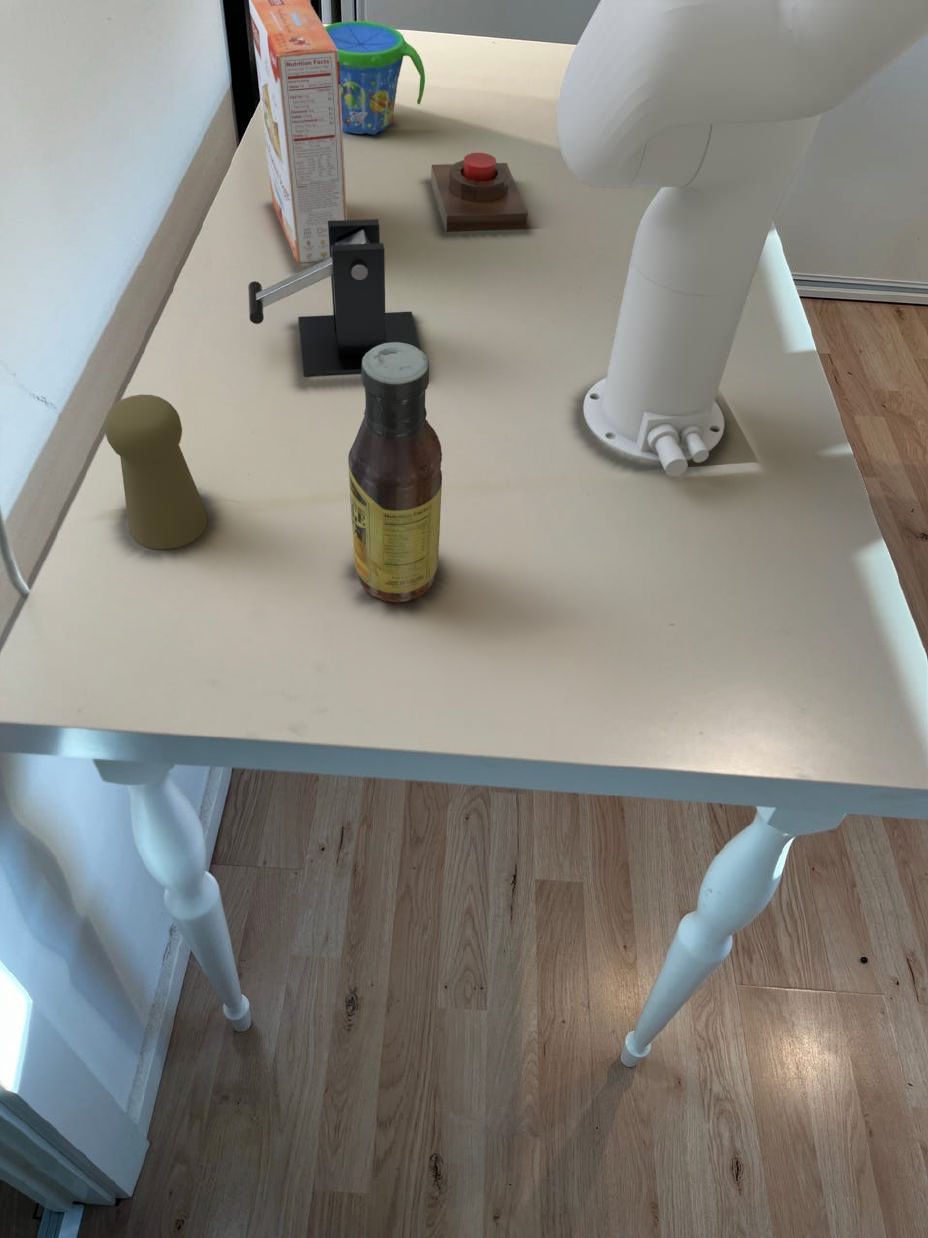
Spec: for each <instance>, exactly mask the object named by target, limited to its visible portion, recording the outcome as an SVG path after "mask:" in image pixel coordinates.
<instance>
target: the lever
mask: <svg viewBox="0 0 928 1238" xmlns="http://www.w3.org/2000/svg"><path fill="white" fill-rule="evenodd" d="M346 244H371V243H370V241H369V239H368V237H367V235H366V233H365V231H364V230H361V231H359V232H357V233H355V234H353V235H351V236H349V237H347V238H345V239H343V240H340V241H338V242H336V243H335V245H346ZM331 275H333V269H332V257H331V258H328V259H326V260H321V262H318V263H316V264H314V265H312V266H309V267H308V268H306V269H303V270H301V271H299V272H297V273H295V274H292V275H291V276H289V277H287V278H284V279H282V280H281V281H279V282H276V283H275V284H272V285H270V286H268V287H266V288H264V289H263V286H262V284H261V283H260V282H259V281H251V282H249V284H248V313H249V320H250V322H251V323H253V324H255V325H260V324H262V323H263V322H264V308H266V307H268V306H270V305H272V304H274V303H277V302H279V301H280V300H283V299H285V298H287V297H289V296H291V295H293V294H295V293H297V292H300V291H302V290H304V289H305V288H308V287H310V286H312V285H314V284H316V283H318V282H320V281H322V280H324V279H326V278H329V277H331Z"/></svg>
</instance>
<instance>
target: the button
mask: <svg viewBox="0 0 928 1238" xmlns="http://www.w3.org/2000/svg"><path fill="white" fill-rule="evenodd" d="M463 160H464V167H463V176H464V177H465V178H467V179H469V180H474V181H490V180H492V179H494V178H495V171H496V162H497V159H496V157H495V156H493V155H492V154H490V153H486V152H471V153H467V154H466V155H465V156H464V157H463Z"/></svg>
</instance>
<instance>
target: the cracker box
mask: <svg viewBox="0 0 928 1238" xmlns="http://www.w3.org/2000/svg"><path fill="white" fill-rule="evenodd" d="M248 6H249V13H250V14H249V15H250V22H251V32H252V38H253V46H254V47H253V48H254V55H255V64H256V72H257V79H258V80H257V81H258V89H259V91H258V92H259V99H260V108H261V114H262V123H263V133H264V141H265V147H266V158H267V168H268V175H269V183H270V185H269V186H270V192H271V194H270V195H271V202H272V206H273V208H274V210H275V213H276V215H277V218H278V220H279V224H280V225H281V229H282V231H283V234H284V236H285V238H286V239H287V242H288V245H289V247H290V250H291V251H292V254H293V256H294V258H295V261H296V262H297V264H300V263H301V264H302V263H310V262H319V261H324V260H326V259H328V258H330V252H329V236H328V221H337V220H348V209H347V190H346V173H345V171H346V170H345V151H344V150H345V149H344V133H343V132H344V131H343V130H342V110H341V88H340V67H339V52H338V49H337V48H336V46H335V44H334V42H333V41H332V39H331V37H330V36H329V34H328V32H327V31H326V29H325V27H326V26H324V24H323V22H322V21H321V19H320V17H319V15H318V14H317V13H316V11H315V9H314V6H312V4H311V2H310V0H248Z"/></svg>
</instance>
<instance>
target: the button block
mask: <svg viewBox="0 0 928 1238" xmlns="http://www.w3.org/2000/svg"><path fill="white" fill-rule="evenodd" d="M463 167H464V159H463V160H460V161H457V162H455V163H448V164H447V163H446V164H431V170H430V171H431V175H430V176H431V177H430V183H431V187H432V190H433V194H434V197H435V201H436V205H437V208H438V210H439V215H440V217H441V221H442V225H443V228H444V231H445V233H458V232H485V231H488V232H489V231H515V230H516V231H519V230H527V224H528V215H529V214H528V211H527V209H526V206H525V204H524V201H523V199H522V197H521V194H520V192H519V189H518V186H517V184H516V182H515V180H514V177H513V175H512V173H511V170H510V167H509V165H508V163H507V162H498V161H496V171H495V178H494V179H492V180H490V181H474V180H469V179H467V178H465V177H464V176H463Z"/></svg>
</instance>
